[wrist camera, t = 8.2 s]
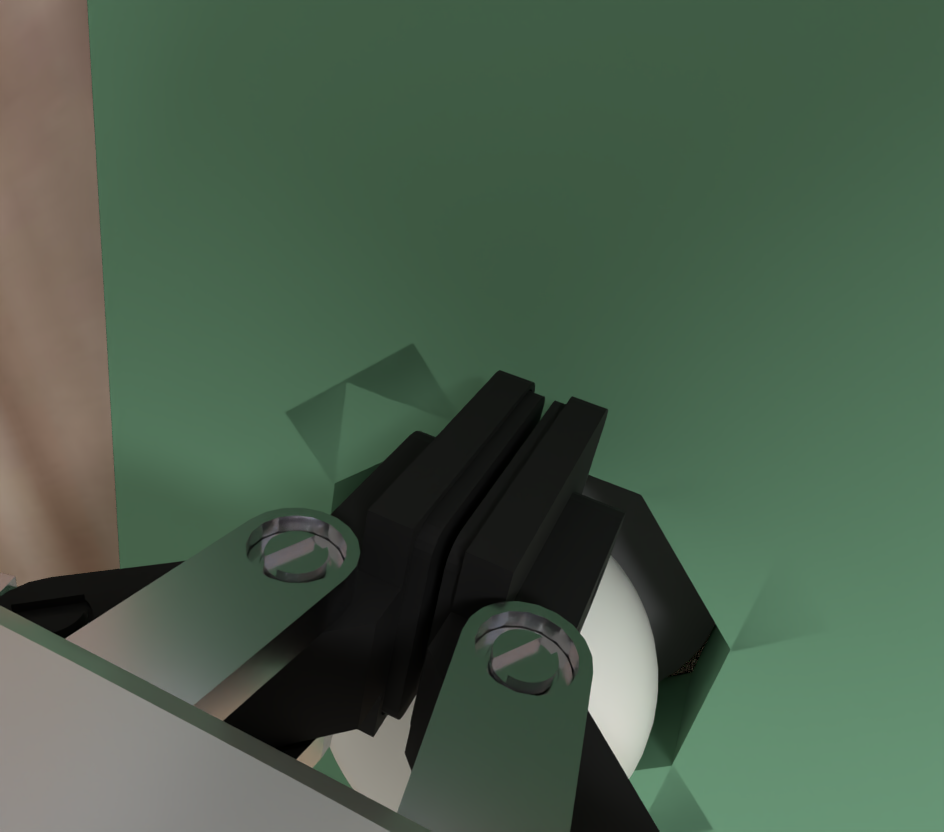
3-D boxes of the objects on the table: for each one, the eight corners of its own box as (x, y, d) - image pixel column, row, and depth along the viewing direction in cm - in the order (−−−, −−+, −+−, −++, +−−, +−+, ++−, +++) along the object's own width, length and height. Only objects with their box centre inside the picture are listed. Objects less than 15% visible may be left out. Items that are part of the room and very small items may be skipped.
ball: (372, 659, 19) (441, 423, 17) (616, 777, 17) (717, 531, 16) (212, 827, 13) (291, 500, 11) (552, 1024, 12) (699, 680, 10)
